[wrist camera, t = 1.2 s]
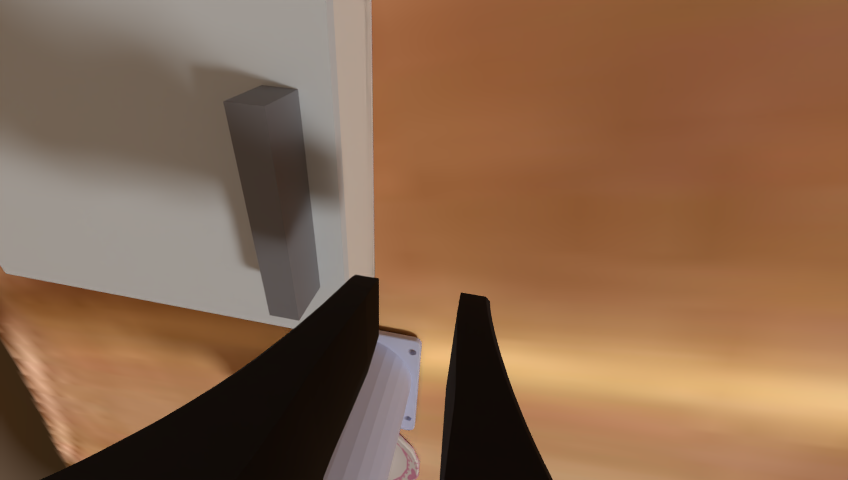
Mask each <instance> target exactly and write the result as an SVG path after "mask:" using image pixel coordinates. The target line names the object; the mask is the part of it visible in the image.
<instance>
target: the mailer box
mask: <svg viewBox="0 0 848 480" xmlns="http://www.w3.org/2000/svg"><path fill="white" fill-rule="evenodd" d="M333 11H334V28H335V45H336V62H337V79H338V97H339V114H340V131H341V148H342V165H343V182H344V199H345V216H346V233H347V250H348V267H349V279H350V278H351V277H352V276H354V275H361V276H367V277H373V278H374V276H375V265H374V182H373V99H372V16H371V0H333Z"/></svg>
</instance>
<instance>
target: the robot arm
mask: <svg viewBox="0 0 848 480" xmlns="http://www.w3.org/2000/svg"><path fill="white" fill-rule="evenodd" d="M421 347H422V343H421V341H420V339H418V338H417V337H413V336H408V335H402V334H397V333H392V332H386V331H381V330H379V278H373V277H367V276H361V275H354V276H352V277H351V278H350V279H349V280H348V281H347V282H346V283H345V284H344V285H342V286H341V287H340V288H339V289H338V290H337V291H336V292H335V293H334V294H333V295H332V296H331V297H329V298H328V299H327V300H326V301H325V302H324V303H323V304H322V305H321V306H320V307H318V308H317V309H316V310H315V311H314V312H313V313H311V314H310V315H309V316H308V317H307V318H306V319H304V320H303V321H302V322H301V323H300V324H299V325H297V326H296V327H295V328H294V329H293V330H291V331H290V332H289V333H288V334H287V335H285V336H284V337H283V338H281V339H280V340H279V341H278V342H276V343H275V344H274V345H272V346H271V347H270V348H268V349H267V350H266V351H265V352H263V353H262V354H261V355H259V356H258V357H257V358H255V359H254V360H253V361H251V362H250V363H248V364H247V365H246V366H244V367H243V368H241V369H240V370H238V371H237V372H236V373H234V374H233V375H231V376H230V377H228V378H227V379H225V380H224V381H222V382H221V383H219V384H218V385H216V386H215V387H213V388H212V389H210V390H208V391H207V392H205V393H203V394H202V395H200V396H199V397H197V398H195V399H194V400H192V401H190V402H189V403H187V404H185V405H184V406H182V407H181V408H179V409H177V410H176V411H174V412H172V413H170V414H169V415H167V416H165V417H163V418H162V419H160V420H158V421H156V422H155V423H153V424H151V425H149V426H147V427H145V428H143V429H142V430H140V431H138V432H136V433H134V434H132V435H130V436H128V437H126V438H124V439H123V440H121V441H119V442H117V443H115V444H113V445H111V446H109V447H107V448H106V449H104V450H102V451H100V452H98V453H96V454H94V455H92V456H90V457H88V458H86V459H84V460H82V461H80V462H78V463H75V464H73V465H71V466H69V467H67V468H65V469H63V470H61V471H59V472H56V473H54V474H52V475H50V476H48V477H45V478H43V479H41V480H388V476H389V472H390V468H391V464H392V460H393V456H394V452H395V449H396V445H397V441H398V437H399V433H400V429H405V430H412V429H414V426H415V419H416V407H417V395H418V383H419V371H420V359H421ZM411 349H413V350H411ZM440 480H553V479H552V477H551V475H550V473H549V471H548V469H547V467H546V465H545V464H544V461H543V459H542V457H541V455H540V453H539V451H538V449H537V447H536V444H535V442H534V440H533V438H532V436H531V433H530V431H529V429H528V427H527V424H526V422H525V420H524V417H523V415H522V412H521V410H520V407H519V405H518V402H517V400H516V397H515V395H514V392H513V389H512V386H511V384H510V381H509V378H508V375H507V372H506V369H505V366H504V363H503V360H502V357H501V353H500V350H499V346H498V343H497V339H496V335H495V331H494V327H493V322H492V317H491V310H490V301H489V300H488V299H487V297H484V296H478V295H472V294H466V293H461V295H460V300H459V306H458V311H457V318H456V324H455V331H454V338H453V345H452V352H451V358H450V365H449V372H448V379H447V385H446V397H445V411H444V425H443V440H442V454H441V469H440Z"/></svg>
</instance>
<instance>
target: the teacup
mask: <svg viewBox="0 0 848 480" xmlns="http://www.w3.org/2000/svg"><path fill="white" fill-rule="evenodd" d="M419 464H420V461H419V459H418V457H417V455H416V452H415V450H414V448H413V447H412V446H411V445H410V444H409V443H408V442H407V441H406V440H405V439H404V438H403V437H402V436H401V435H400V434H399V437H398V441H397V445H396V449H395V452H394V456H393V460H392V464H391V468H390V472H389V476H388V480H416V479H417V477H418V476H419Z"/></svg>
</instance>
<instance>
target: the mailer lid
mask: <svg viewBox="0 0 848 480" xmlns="http://www.w3.org/2000/svg"><path fill="white" fill-rule="evenodd" d="M0 265H1V267H2V268H3V270H4V271H5V273H6V274H11V275H16V276H22V277H27V278H32V279H37V280H42V281H48V282H53V283H58V284H63V285H68V286H74V287H79V288H84V289H89V290H94V291H100V292H105V293H110V294H115V295H120V296H126V297H131V298H136V299H141V300H147V301H152V302H157V303H162V304H167V305H173V306H178V307H183V308H188V309H193V310H199V311H204V312H209V313H214V314H219V315H225V316H230V317H235V318H240V319H245V320H251V321H256V322H261V323H266V324H272V325H277V326H282V327H287V328H292V329H294V328H295V327H296V326H297V325H299V324H300V323H301V322H302V321H303V320H304V319H306V318H307V317H308V316H309V315H310V314H311V313H313V312H314V311H315V310H316V309H317V308H318V307H320V306H321V305H322V304H323V303H324V302H325V301H326V300H327V299H328V298H329V297H331V296H332V295H333V294H334V293H335V292H336V291H337V290H338V289H339V288H340V287H341V286H342V285H344V284H345V283H346V282H347V281H348V280H349V267H348V250H347V233H346V216H345V199H344V182H343V165H342V148H341V131H340V114H339V97H338V79H337V62H336V45H335V28H334V11H333V0H0Z"/></svg>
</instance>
